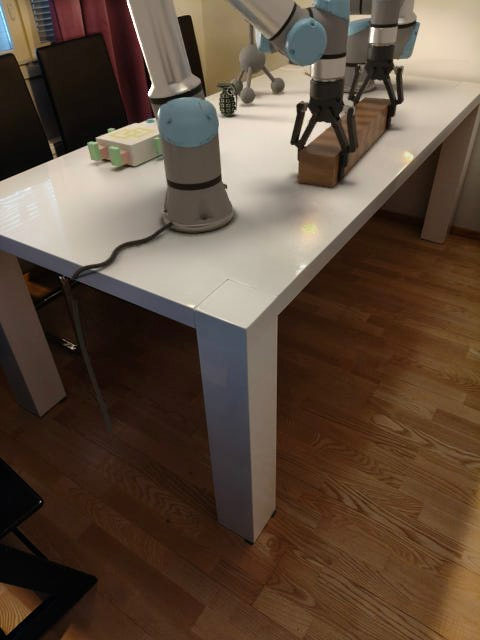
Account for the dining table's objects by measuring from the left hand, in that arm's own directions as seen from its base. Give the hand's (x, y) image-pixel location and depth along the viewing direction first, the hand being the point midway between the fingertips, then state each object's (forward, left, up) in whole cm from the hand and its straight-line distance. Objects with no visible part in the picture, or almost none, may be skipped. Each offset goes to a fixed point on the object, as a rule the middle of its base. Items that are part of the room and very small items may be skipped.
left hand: (321, 176), depth 121 cm
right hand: (+44, 0, 0) cm, 44 cm away
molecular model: (+67, +51, 0) cm, 85 cm away
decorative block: (-2, +56, 0) cm, 56 cm away
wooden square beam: (+22, 0, 0) cm, 22 cm away
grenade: (+41, +50, 0) cm, 64 cm away
